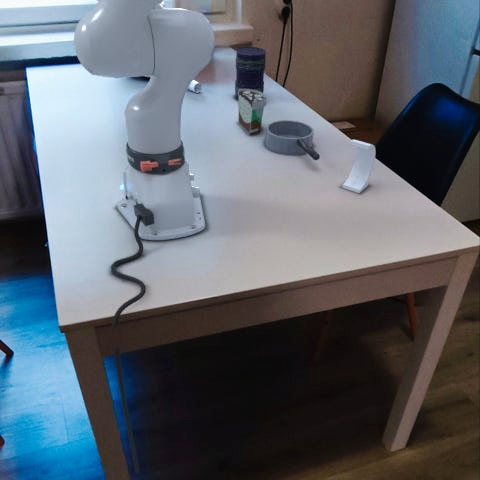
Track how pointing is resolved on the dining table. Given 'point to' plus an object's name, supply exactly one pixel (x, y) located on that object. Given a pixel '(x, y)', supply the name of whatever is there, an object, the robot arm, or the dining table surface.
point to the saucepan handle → (308, 149)
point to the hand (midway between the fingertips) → (188, 43)
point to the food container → (251, 110)
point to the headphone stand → (361, 166)
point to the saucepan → (288, 136)
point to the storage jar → (250, 69)
